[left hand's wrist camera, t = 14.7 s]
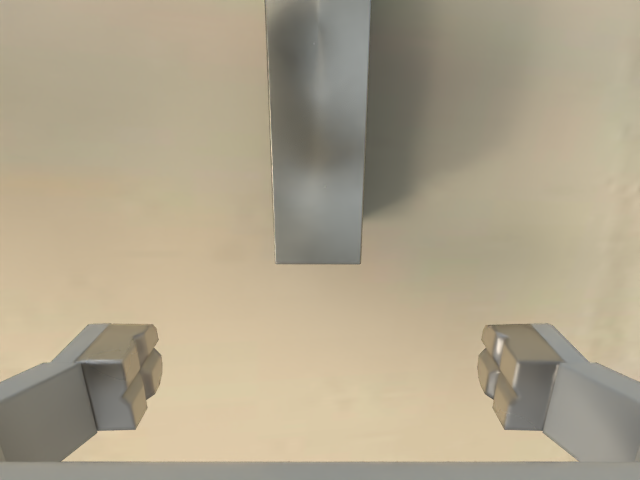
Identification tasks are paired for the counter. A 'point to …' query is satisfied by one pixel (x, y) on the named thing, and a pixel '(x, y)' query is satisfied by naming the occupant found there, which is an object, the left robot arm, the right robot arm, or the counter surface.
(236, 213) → the counter surface
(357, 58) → the bar
